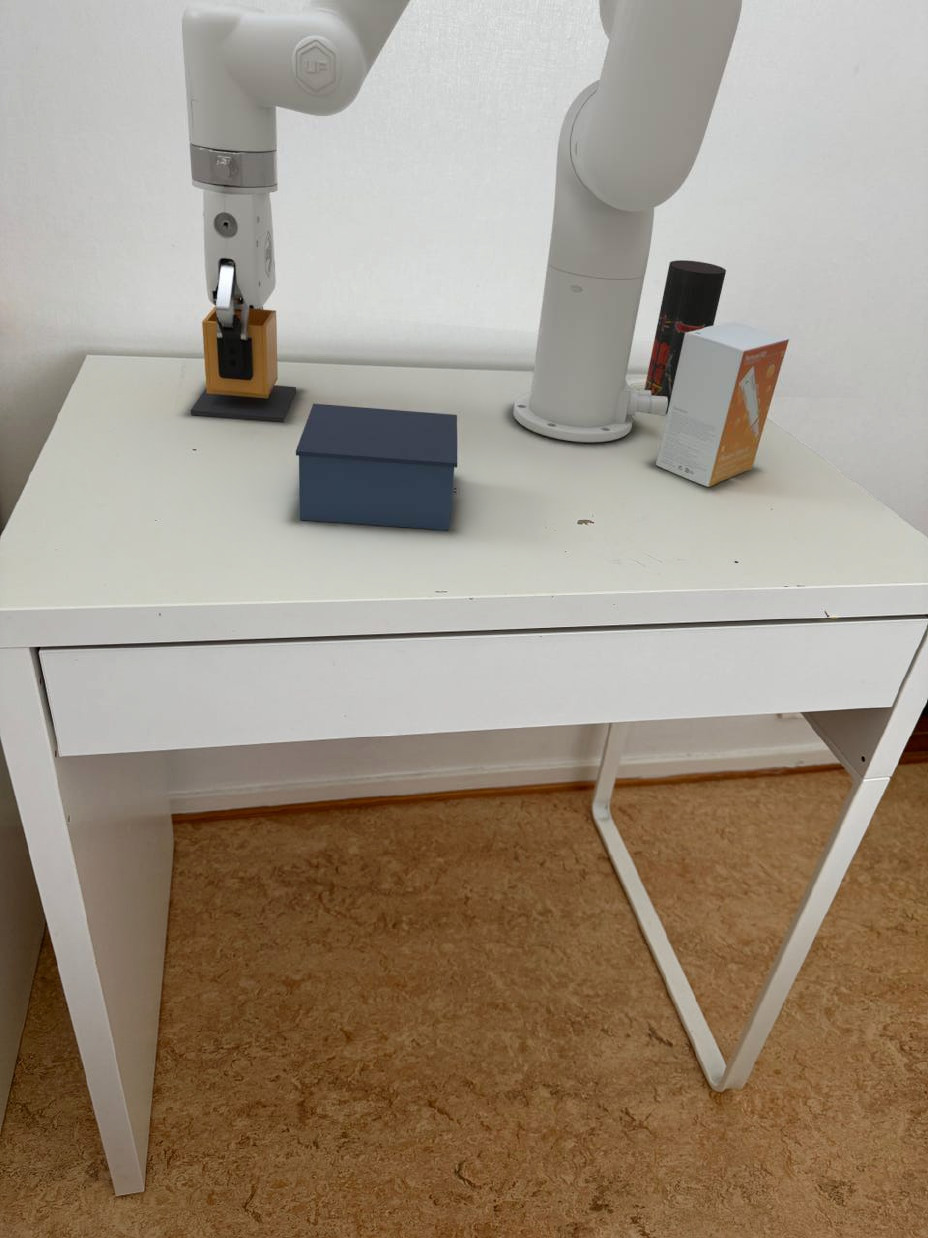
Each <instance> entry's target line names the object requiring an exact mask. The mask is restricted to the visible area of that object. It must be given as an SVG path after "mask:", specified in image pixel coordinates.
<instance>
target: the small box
mask: <svg viewBox="0 0 928 1238" xmlns="http://www.w3.org/2000/svg"><path fill="white" fill-rule="evenodd" d="M789 341H790V338H788V337H784V336H781V335H778V334H774V333H771V332H768V331H765V330H762V329H760V328H755V327H752V326H749V325H746V324H743V323H739V322H737V321H730V322H726V323H721V324H714V325H713V326H709V327H705V328H703V329H699V330H695V331H691V332H686V333H685V336H684V340H683V345H682V349H681V354H680V358H679V363H678V367H677V372H676V376H675V381H674V385H673V390H672V394H671V399H670V404H669V408H668V412H666V418H665V423H664V426H663V431H662V436H661V440H660V445H659V449H658V453H657V458H656V462H655V465H656V466H658V467H659V468H661V469H664V470H666V471H668V472H671V473H673V474H675V475H677V476H680V477H682V478H685V479H687V480H690V481H691V482H694V483H697V484H699V485H702V486H704V487H707V488H710V487H712V486H714V485H716V484H718V483H720V482H723V481H725V480H727V479H730V478H733V477H735V476H737V475H739V474H742V473H745V472H747V471H750V470H752V469H753V467H754V462H755V460H756V455H757V452H758V450H759V449H758V448H759V445H760V442H761V438H762V435H763V431H764V428H765V423H766V422H767V416H768V413H769V411H770V407H771V403H772V400H773V397H774V393H775V389H776V386H777V382H778V379H779V376H780V372H781V369H782V366H783V362H784V358H785V354H786V352H787V347H788V344H789Z"/></svg>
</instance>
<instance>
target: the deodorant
mask: <svg viewBox="0 0 928 1238" xmlns="http://www.w3.org/2000/svg"><path fill="white" fill-rule="evenodd" d="M726 275H727V270H726V269H725V267H722V266H720V265H717V264H714V263H713V264H712V263H710V262H709V263H708V262H704V261H697V260H688V259H687V260H686V259H685V260H682V259H681V260H680V259H679V260H671V261H670V262H669V265H668V269H667V274H666V280H665V284H664V290H663V294H662V300H661V304H660V309H659V316H658V320H657V324H656V329H655V335H654V338H653V344H652V345H653V346H652V350H651V353H650V354H651V355H650V359H649V364H648V370H647V375H646V380H645V385H644V389H643V390H650V391H651V395H652V396H664V397H667V398H668V406H667V411H666V413H668V408H669V404H670V399H671V394H672V390H673V385H674V381H675V376H676V372H677V367H678V363H679V358H680V354H681V349H682V345H683V340H684V336H685V333H686V332H691V331H695V330H699V329H703V328H705V327H709V326H715V320H716V317H717V311H718V308H719V303H720V299H721V295H722V290H723V286H724V281H725V278H726Z"/></svg>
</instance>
